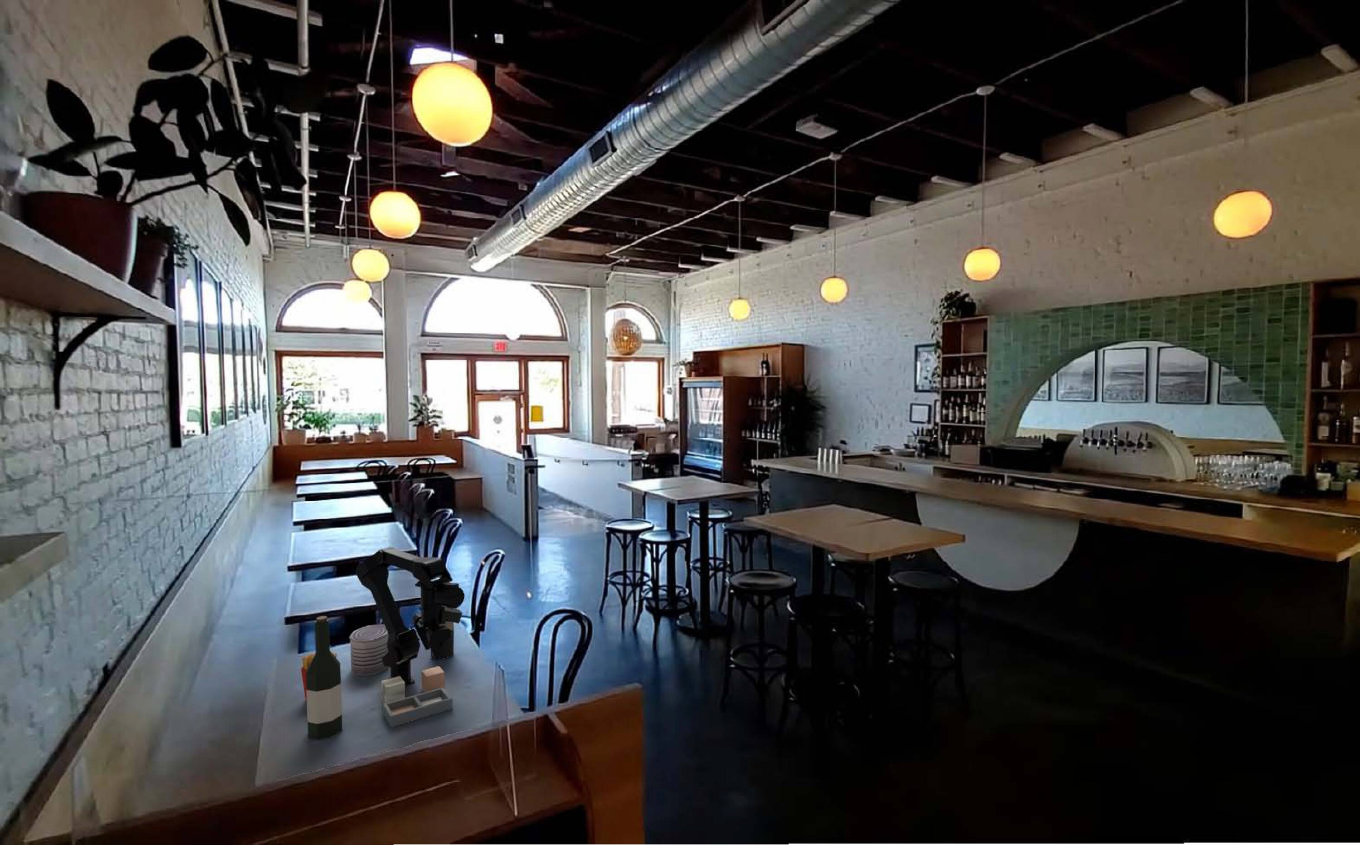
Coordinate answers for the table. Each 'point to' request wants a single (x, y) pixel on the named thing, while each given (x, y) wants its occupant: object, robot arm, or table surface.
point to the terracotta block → (432, 679)
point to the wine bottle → (323, 687)
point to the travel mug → (447, 643)
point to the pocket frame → (417, 706)
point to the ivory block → (393, 689)
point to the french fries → (305, 665)
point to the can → (368, 649)
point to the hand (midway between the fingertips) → (432, 654)
